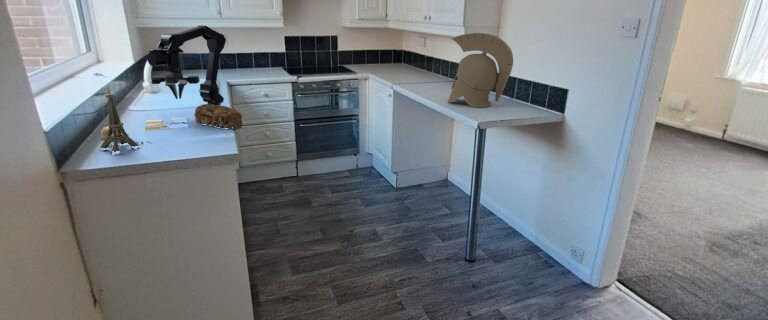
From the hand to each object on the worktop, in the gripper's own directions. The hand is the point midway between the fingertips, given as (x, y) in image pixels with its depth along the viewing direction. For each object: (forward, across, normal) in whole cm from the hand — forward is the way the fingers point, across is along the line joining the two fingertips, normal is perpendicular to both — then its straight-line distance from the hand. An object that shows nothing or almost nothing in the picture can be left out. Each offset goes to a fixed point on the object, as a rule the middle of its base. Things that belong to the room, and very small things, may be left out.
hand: (178, 98), depth 196 cm
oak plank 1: (+11, -10, -4) cm, 16 cm away
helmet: (+12, +155, +25) cm, 158 cm away
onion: (+11, -20, -25) cm, 34 cm away
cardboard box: (+11, -3, -12) cm, 17 cm away
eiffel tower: (+11, -14, -37) cm, 41 cm away
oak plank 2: (+11, 0, -2) cm, 11 cm away
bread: (+12, +18, -10) cm, 24 cm away
